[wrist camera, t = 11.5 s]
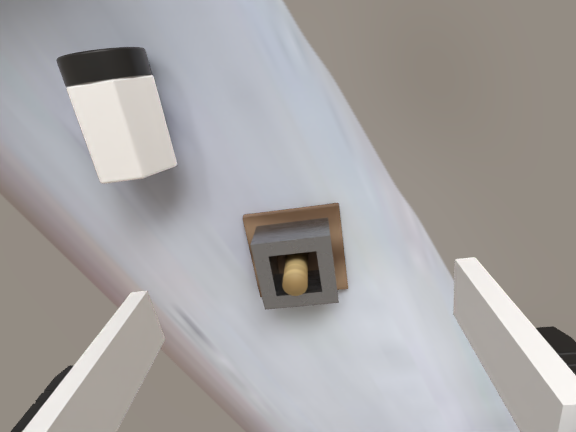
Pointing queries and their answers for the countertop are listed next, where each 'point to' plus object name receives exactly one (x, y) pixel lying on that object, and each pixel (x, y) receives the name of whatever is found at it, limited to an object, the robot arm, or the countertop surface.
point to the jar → (118, 112)
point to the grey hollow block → (292, 241)
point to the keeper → (301, 263)
